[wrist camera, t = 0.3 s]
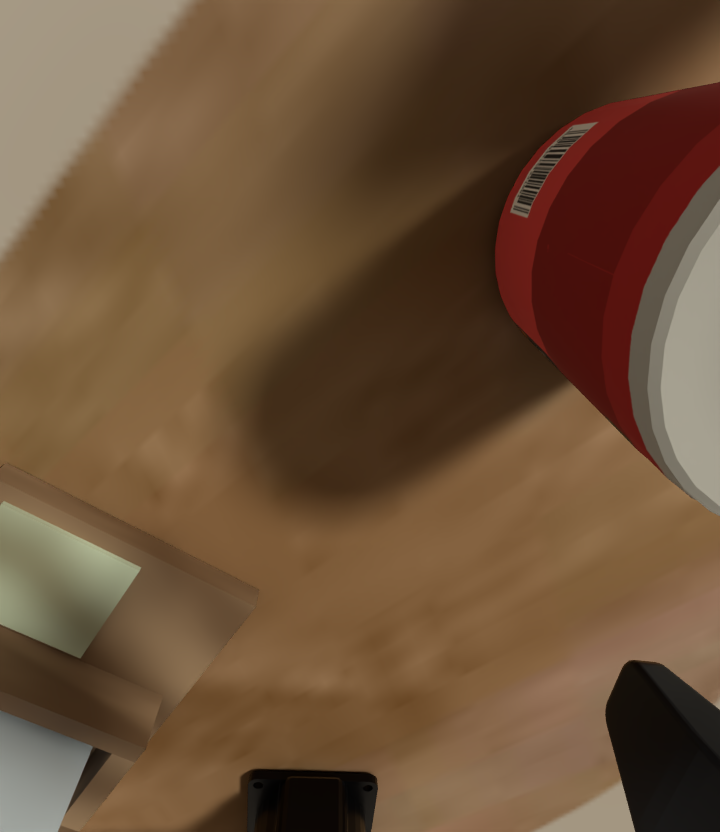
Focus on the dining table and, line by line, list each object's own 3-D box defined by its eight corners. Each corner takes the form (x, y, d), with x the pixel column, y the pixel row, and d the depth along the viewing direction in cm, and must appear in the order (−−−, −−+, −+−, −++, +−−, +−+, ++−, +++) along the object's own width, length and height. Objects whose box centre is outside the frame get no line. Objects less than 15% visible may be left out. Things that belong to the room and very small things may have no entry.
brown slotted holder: (114, 773, 29) (86, 849, 26) (-112, 687, 26) (-174, 761, 23) (259, 590, 25) (247, 655, 22) (6, 462, 22) (-52, 515, 19)
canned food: (489, 365, 21) (627, 562, 11) (484, 117, 18) (675, 70, 8) (704, 340, 21) (1042, 516, 11) (739, 85, 17) (1278, -4, 7)
